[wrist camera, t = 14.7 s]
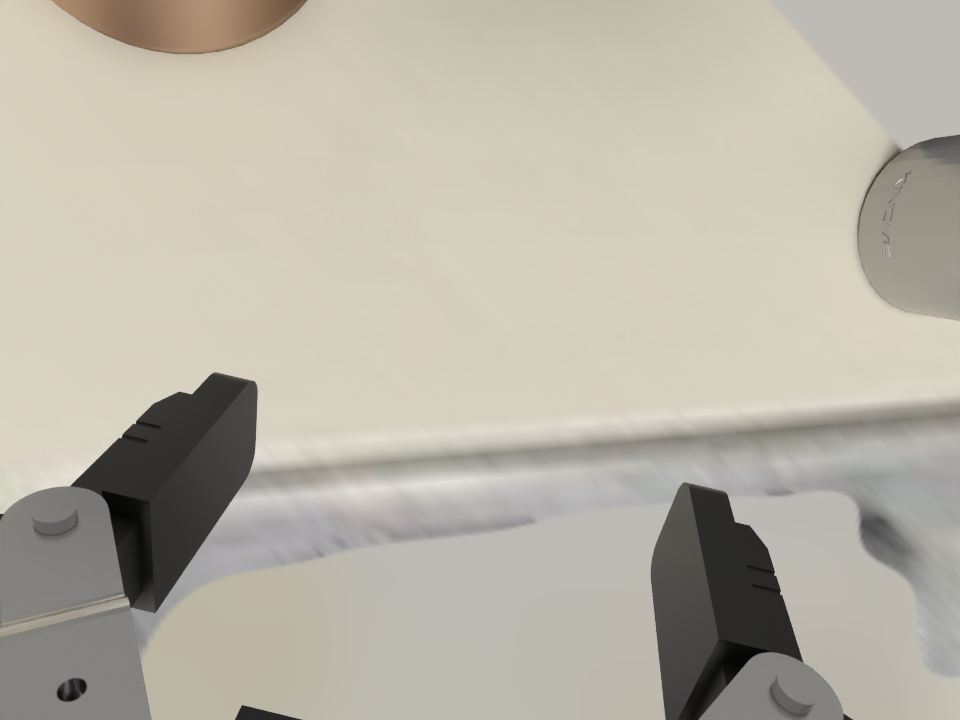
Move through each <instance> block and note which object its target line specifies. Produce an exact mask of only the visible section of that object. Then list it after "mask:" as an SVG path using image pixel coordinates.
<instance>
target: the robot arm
mask: <svg viewBox="0 0 960 720" xmlns="http://www.w3.org/2000/svg"><path fill="white" fill-rule="evenodd" d="M858 242H859V254H860V258H861V262H862V267H863V270H864V272H865V274H866V276H867V278H868V280H869V282H870V284H871V286H872V287H873V288H874V289H875V291H876V292H877V293H878V294H879V296H880V297H881V298H883V299H884V300H885V301H887V302H888V303H889V304H891V305H892V306H894V307H896V308H898V309H901V310H903V311H905V312H909V313H915V314H921V315H927V316H933V317H939V318H945V319H951V320H957V321H960V135H955V136H948V137H940V138H934V139H930V140H926V141H923V142H919V143H917V144H915V145H913V146H911V147H909V148H908V149H906V150H904V151H902V152H901V153H900V154H899V155H897V156H896V157H895V158H894V159H893V160H891V161H890V162H889V163H888V164H887V165H886V167H885V168H884V169H883V170H882V172H881V173H880V174H879V175H878V177H877V178H876V180H875V181H874V183H873V185H872V187H871V189H870V191H869V192H868V194H867V197H866V200H865V203H864V206H863V209H862V212H861V217H860V223H859V230H858ZM256 418H257V385H256V383H255V382H254V381H251V380H246V379H242V378H238V377H233V376H229V375H225V374H220V373H213V374H211V375H210V376H209V377H208V378H207V379H206V380H205V381H204V382H203V383H202V384H201V386H200V387H199V388H198V389H197V390H196V391H195V392H194V393H193V394H187V393H183V392H178V393H176V394H173V395H171V396H169V397H167V398H165V399H163V400H161V401H159V402H156V403H154V404H153V405H152V406H151V407H150V408H149V409H148V410H147V411H146V412H145V413H144V414H143V415H142V416H141V417H140V418H139V419H138V420H137V421H136V424H133V425H132V426H131V427H130V428H129V429H128V430H127V431H126V432H125V433H124V434H123V436H122V438H118V439H117V440H116V441H115V442H114V443H113V444H112V445H111V446H110V447H109V448H108V449H107V450H106V451H105V452H104V453H103V454H102V455H101V456H100V457H99V458H98V459H97V460H96V461H95V462H94V463H93V464H92V465H91V466H90V467H89V468H88V469H87V470H86V471H85V472H84V473H83V474H82V475H81V476H80V477H79V478H78V479H77V480H76V481H75V482H74V483H73V484H72V485H71V486H70V487H55V488H49V489H45V490H41V491H38V492H35V493H33V494H30V495H28V496H26V497H24V498H22V499H20V500H19V501H17V502H16V503H15V504H13V505H12V506H11V507H10V508H9V509H8V510H7V511H6V512H5V514H0V720H152V719H151V714H150V709H149V704H148V698H147V693H146V688H145V682H144V677H143V672H142V666H141V661H140V656H139V651H138V645H137V640H136V635H135V629H134V624H133V619H132V613H131V607H132V608H136V609H140V610H144V611H148V612H153V613H156V611H157V610H158V608H159V607H160V605H161V604H162V602H163V601H164V600H165V598H166V597H167V595H168V594H169V592H170V591H171V589H172V588H173V586H174V585H175V583H176V582H177V580H178V579H179V577H180V576H181V574H182V573H183V571H184V570H185V569H186V567H187V566H188V564H189V563H190V561H191V560H192V558H193V557H194V555H195V554H196V552H197V551H198V549H199V548H200V546H201V545H202V543H203V542H204V541H205V539H206V538H207V536H208V535H209V533H210V532H211V530H212V529H213V527H214V526H215V524H216V523H217V521H218V520H219V518H220V517H221V515H222V514H223V513H224V511H225V510H226V508H227V507H228V505H229V504H230V502H231V501H232V499H233V498H234V496H235V495H236V493H237V492H238V490H239V489H240V487H241V486H242V484H243V483H244V481H245V480H246V478H247V476H248V474H249V471H250V469H251V466H252V463H253V459H254V454H255V442H256ZM774 573H775V571H774V568H773V564H772V561H771V558H770V555H769V551H768V549H767V547H766V546H765V545H764V543H763V542H762V541H761V539H760V538H759V537H758V536H757V535H756V533H755V532H754V530H753V529H752V528H751V527H750V526H748V525H744V524H740V523H736V522H735V521H734V517H733V513H732V509H731V506H730V502H729V498H728V495H727V493H726V492H724V491H720V490H716V489H711V488H707V487H703V486H698V485H694V484H690V483H683V484H682V485H681V486H680V488H679V489H678V492H677V494H676V496H675V499H674V501H673V504H672V506H671V509H670V511H669V513H668V516H667V518H666V521H665V523H664V526H663V528H662V531H661V533H660V535H659V538H658V541H657V543H656V546H655V549H654V553H653V558H652V564H651V583H652V593H653V603H654V612H655V622H656V632H657V641H658V651H659V660H660V670H661V680H662V689H663V699H664V709H665V718H666V720H852V719H851V718H849V717H848V716H846V715H845V714H843V710H842V707H841V703H840V701H839V699H838V697H837V695H836V694H835V692H834V691H833V689H832V688H831V686H830V685H829V684H828V683H827V682H826V681H825V680H824V679H823V678H822V677H821V676H820V675H819V674H818V673H817V672H815V671H814V670H813V669H812V668H810V667H809V666H808V665H806V664H805V663H803V660H802V657H801V654H800V651H799V647H798V644H797V641H796V638H795V635H794V631H793V628H792V625H791V622H790V619H789V616H788V612H787V609H786V606H785V603H784V600H783V597H782V595H780V591H781V590H780V587H779V584H778V581H777V577H776V576H774ZM235 720H301V719H296V718H293V717H288V716H284V715H280V714H276V713H272V712H268V711H264V710H260V709H255V708H252V707H247V706H243V705H242V706H241V708H240V710H239V713H238V715H237V717H236V719H235Z"/></svg>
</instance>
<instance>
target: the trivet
mask: <svg viewBox="0 0 960 720" xmlns="http://www.w3.org/2000/svg"><path fill="white" fill-rule="evenodd" d="M52 1H53V2H54V3H55V4H57V5H58V6H59V7H61V8H62V9H63V10H65V11H66V12H68V13H69V14H71V15H72V16H73V17H75V18H76V19H78V20H79V21H81V22H82V23H84V24H86V25H87V26H89V27H91V28H93V29H95V30H97V31H98V32H100V33H102V34H104V35H106V36H109V37H111V38H114V39H116V40H119V41H121V42H124V43H126V44H129V45H133V46H136V47H140V48H144V49H148V50H151V51H158V52H165V53H173V54H202V53H210V52H218V51H223V50H227V49H231V48H234V47H238V46H242V45H244V44H247V43H249V42H251V41H253V40H256V39H258V38H260V37H263V36H264V35H266V34H267V33H269V32H271V31H272V30H274V29H276V28H277V27H279V26H280V25H282V24H283V23H284V22H285V21H287V20H288V19H289V18H290V17H291V16H292V15H294V14H295V13H296V12H297V11H298V10H299V9H300V8H301V7H302V6H303V5H304V3H305V2H306V1H307V0H52Z"/></svg>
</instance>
